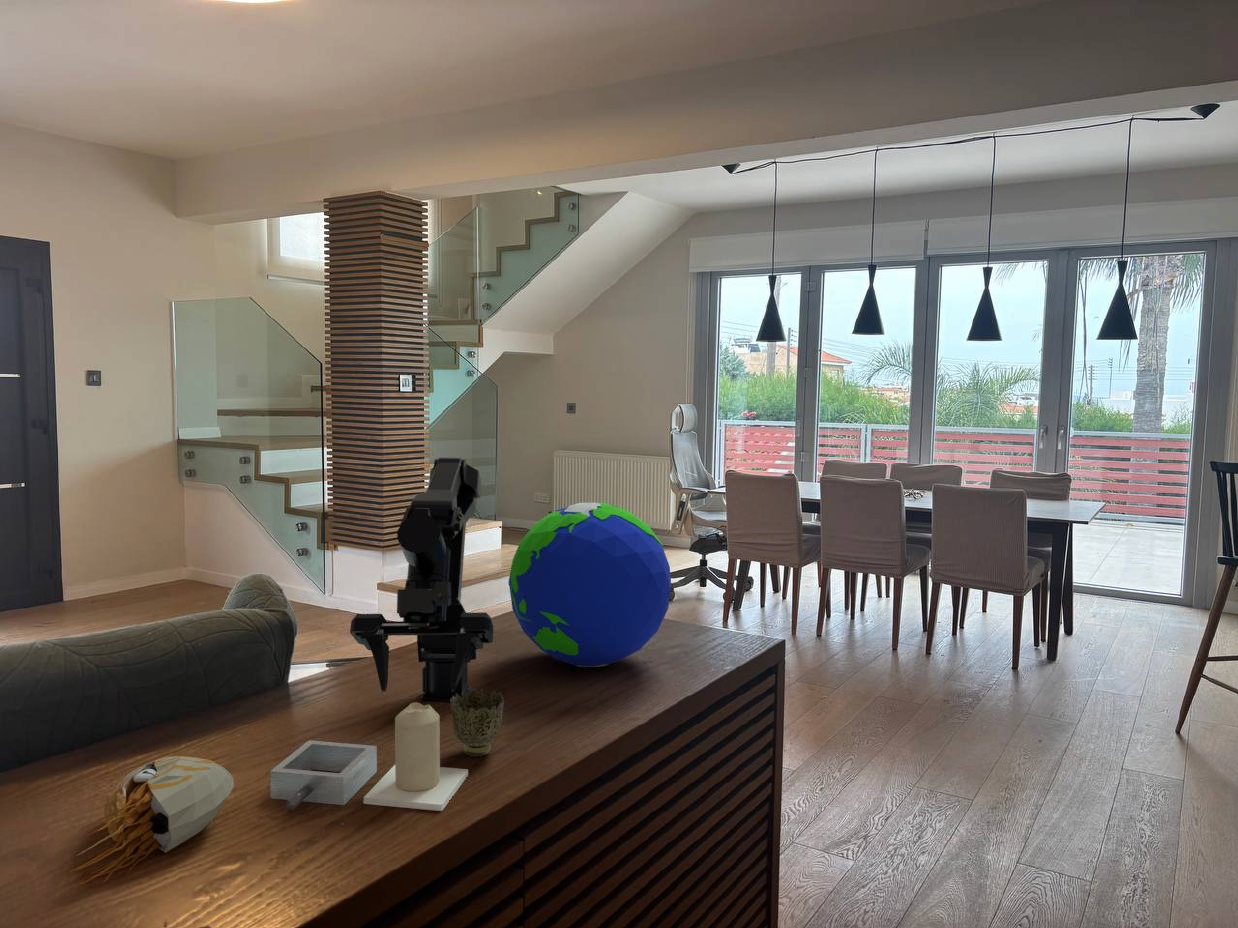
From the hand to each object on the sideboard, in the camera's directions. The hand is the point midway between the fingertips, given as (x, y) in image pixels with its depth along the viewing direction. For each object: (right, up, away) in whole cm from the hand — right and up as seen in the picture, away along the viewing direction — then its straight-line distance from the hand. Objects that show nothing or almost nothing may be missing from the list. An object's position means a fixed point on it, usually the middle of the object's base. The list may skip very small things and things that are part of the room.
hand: (418, 690), depth 120 cm
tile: (+1, -11, -6) cm, 12 cm away
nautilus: (-26, -12, -20) cm, 35 cm away
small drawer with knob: (-11, -11, -7) cm, 17 cm away
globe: (+21, -7, +46) cm, 51 cm away
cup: (+7, -10, +6) cm, 14 cm away
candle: (+1, -10, -6) cm, 12 cm away
